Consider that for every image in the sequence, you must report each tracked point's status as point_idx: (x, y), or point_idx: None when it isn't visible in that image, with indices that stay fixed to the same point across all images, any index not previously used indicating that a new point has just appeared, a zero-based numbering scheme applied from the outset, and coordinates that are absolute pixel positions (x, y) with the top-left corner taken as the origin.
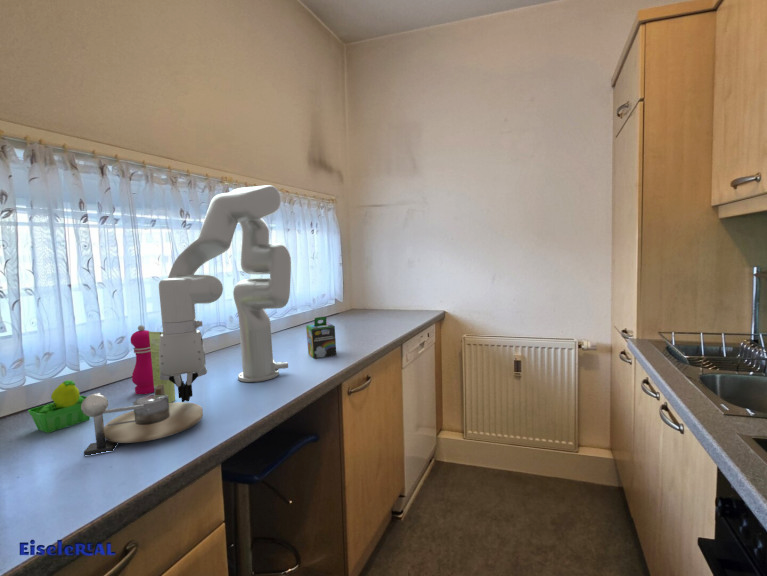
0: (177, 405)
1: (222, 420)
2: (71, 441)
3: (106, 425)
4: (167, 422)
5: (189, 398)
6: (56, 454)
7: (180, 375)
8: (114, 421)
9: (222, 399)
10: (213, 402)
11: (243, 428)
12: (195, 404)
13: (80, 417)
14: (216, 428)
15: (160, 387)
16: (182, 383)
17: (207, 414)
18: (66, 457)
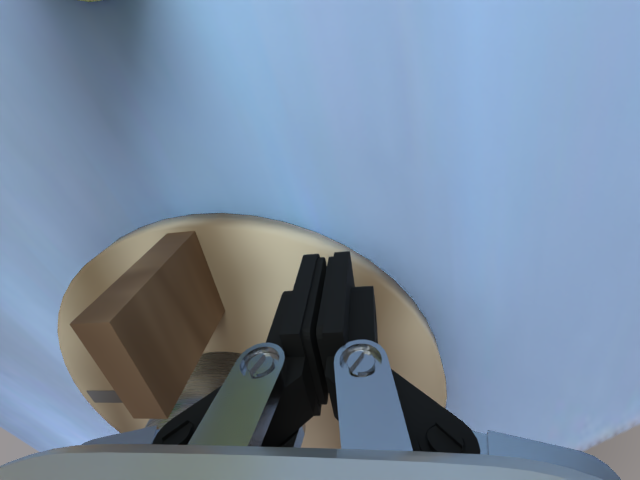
0: (289, 286)
1: (520, 361)
2: (18, 351)
3: (89, 398)
4: (318, 444)
5: (354, 286)
6: (59, 409)
7: (258, 444)
8: (88, 374)
9: (562, 2)
10: (483, 67)
11: (591, 442)
12: (397, 306)
13: None
14: (491, 413)
15: (142, 391)
16: (309, 416)
17: (449, 276)
18: (103, 429)
